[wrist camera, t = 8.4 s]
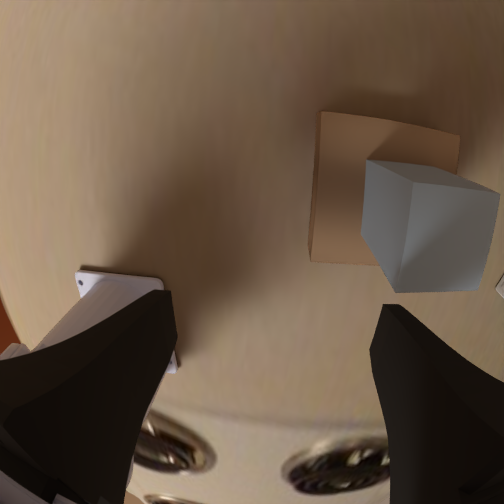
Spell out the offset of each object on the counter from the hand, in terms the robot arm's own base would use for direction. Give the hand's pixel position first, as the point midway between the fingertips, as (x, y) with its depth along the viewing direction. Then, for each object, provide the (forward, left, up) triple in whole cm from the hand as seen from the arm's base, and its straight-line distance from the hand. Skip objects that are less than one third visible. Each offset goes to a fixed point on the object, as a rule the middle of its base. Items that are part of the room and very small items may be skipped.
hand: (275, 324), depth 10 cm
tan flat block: (+3, -6, -10) cm, 12 cm away
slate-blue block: (+3, -6, -7) cm, 10 cm away
